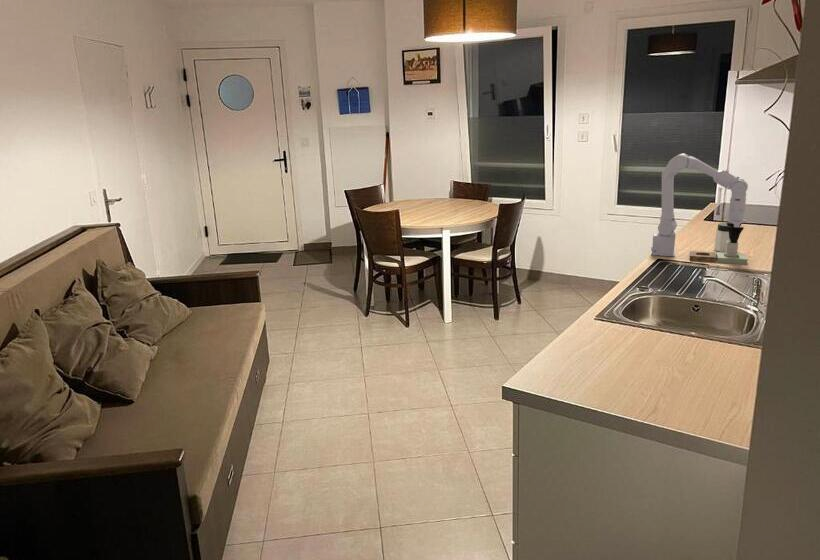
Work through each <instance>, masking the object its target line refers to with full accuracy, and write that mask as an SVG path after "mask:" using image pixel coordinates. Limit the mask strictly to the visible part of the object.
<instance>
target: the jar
mask: <svg viewBox="0 0 820 560" xmlns="http://www.w3.org/2000/svg"><path fill="white" fill-rule="evenodd" d="M727 223H728V222H719V223H718V224H717V229H716V230H715V240H714V247H713V248H714V249H713V250H714V251H715V252H718V251H719V252H724V253H725V252H726V243H727V241H731V240H730V239H729V229H728V225H727Z"/></svg>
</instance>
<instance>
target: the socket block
mask: <svg viewBox="0 0 820 560" xmlns="http://www.w3.org/2000/svg"><path fill="white" fill-rule="evenodd" d="M689 255H690V256H689V261H691V260H692V261H695V262H708V263H709V262H710V263H711V262H712V263H716V262H717V259H716V251H715V252H714V251H699V250H689Z"/></svg>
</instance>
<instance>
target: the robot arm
mask: <svg viewBox="0 0 820 560" xmlns="http://www.w3.org/2000/svg"><path fill="white" fill-rule="evenodd" d="M686 168H687V170H693V169H694V170H696V171H697V170H698V171H699V172H701V173H703V174H705V175H707V176H709V177H711V178H712V179H713V182H714V183H715V184H717V185H719V186H721V187H723V188H725V189H727V190H730V191H731V197H730V199H729V208H728V214H727V215H728V217H727V220H726V221H727V222H726V223H727V225H728V229H729V239H730V240H731V243H737V241H739V238H740V235H741V233H742V231H743V230H744V227H742V224H743V223H747V219H744V217H745V209H746V201H747V191H748V187H749V184H748V182H747V181H746V180H745V179H743V178H741V177H740V176H735V175H733V174H731V173H729V172H730V171H729V170H727V169H725V170H724V169H720V170H717V169H715V168H714V167H712V166H710V165H709V164H707V163H706V162H703V161H702V160H700V159H699V158H696V157H695V156H693V155H689V154H686V153H679V154H678V155H675V156H674V157H672V158H671V159H670V160H669V161H668V163H667V164H666V165H665V168H664V169H663V171H662V172H661V215H660V222H659V224H658V227H657V231H658V232H657V234H652V244H651V245H652V246H651V249H650V250H651V256H658V255H659V257H661V256H662V257H663V256H664V257H676V256H675V255H676V254H675V253H676V252H675V246H676V245H675V244H676V232H675V230H676V229H677V222H676V220H675V212H674V206H675V205H674V203H675V202H674V193H675V191H674V190H675V189H674V185H675V184H674V183H675V182H674V181H675V176H676V175H678V173H679V172H681V171H682V170H685V169H686Z"/></svg>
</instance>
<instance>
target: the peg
mask: <svg viewBox="0 0 820 560" xmlns="http://www.w3.org/2000/svg"><path fill="white" fill-rule="evenodd" d="M738 241H739V240H738ZM738 241H737V243H731V241H727V243H726V252H724V253H725V257H737V253H738V248H739V247H738V246H739V242H738Z"/></svg>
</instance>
